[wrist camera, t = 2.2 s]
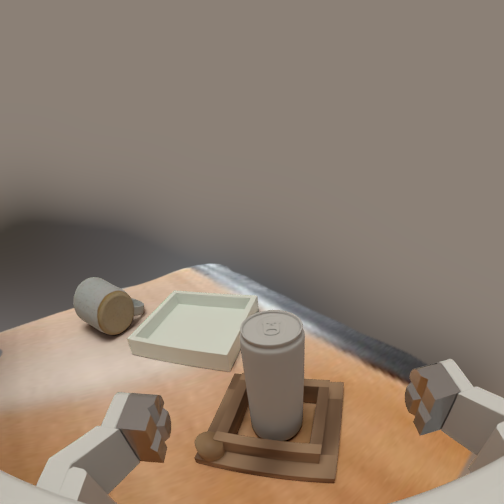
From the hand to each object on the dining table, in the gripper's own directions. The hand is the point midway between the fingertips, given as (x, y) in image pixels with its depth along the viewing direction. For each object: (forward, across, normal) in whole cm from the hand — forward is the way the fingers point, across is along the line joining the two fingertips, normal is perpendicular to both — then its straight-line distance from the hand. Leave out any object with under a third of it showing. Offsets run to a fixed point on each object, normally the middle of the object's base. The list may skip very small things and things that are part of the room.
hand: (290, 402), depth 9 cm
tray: (+30, +10, +17) cm, 36 cm away
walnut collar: (+12, 0, +17) cm, 21 cm away
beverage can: (+12, 0, +17) cm, 21 cm away
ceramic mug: (+33, +25, +17) cm, 45 cm away
